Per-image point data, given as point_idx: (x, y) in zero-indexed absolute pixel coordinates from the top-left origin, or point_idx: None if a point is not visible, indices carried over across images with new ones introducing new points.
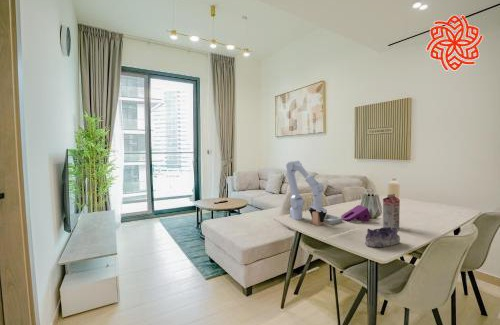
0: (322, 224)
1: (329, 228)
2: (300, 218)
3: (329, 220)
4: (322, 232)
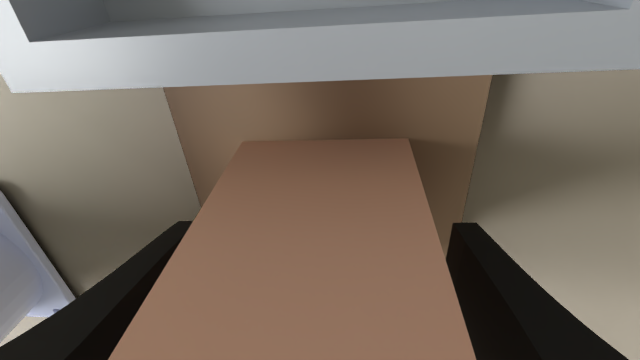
0: (432, 179)
1: (620, 159)
2: (12, 287)
3: (609, 32)
4: (599, 335)
